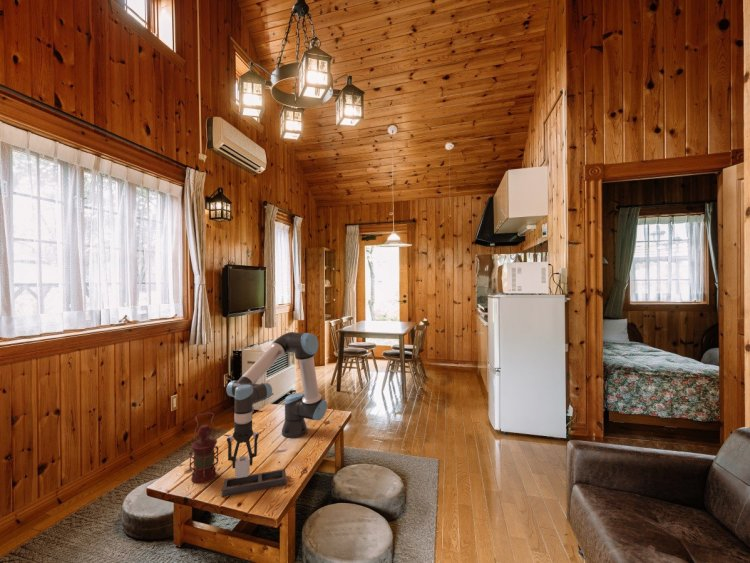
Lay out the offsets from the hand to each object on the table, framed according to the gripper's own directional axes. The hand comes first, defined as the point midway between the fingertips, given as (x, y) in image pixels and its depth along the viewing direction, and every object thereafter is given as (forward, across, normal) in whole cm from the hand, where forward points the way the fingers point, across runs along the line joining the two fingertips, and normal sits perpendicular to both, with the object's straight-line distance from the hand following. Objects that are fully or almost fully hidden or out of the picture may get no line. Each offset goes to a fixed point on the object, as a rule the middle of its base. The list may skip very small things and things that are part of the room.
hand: (242, 473), depth 147 cm
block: (0, 0, 0) cm, 0 cm away
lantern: (+7, +18, -15) cm, 24 cm away
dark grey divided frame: (+6, -6, 0) cm, 8 cm away
